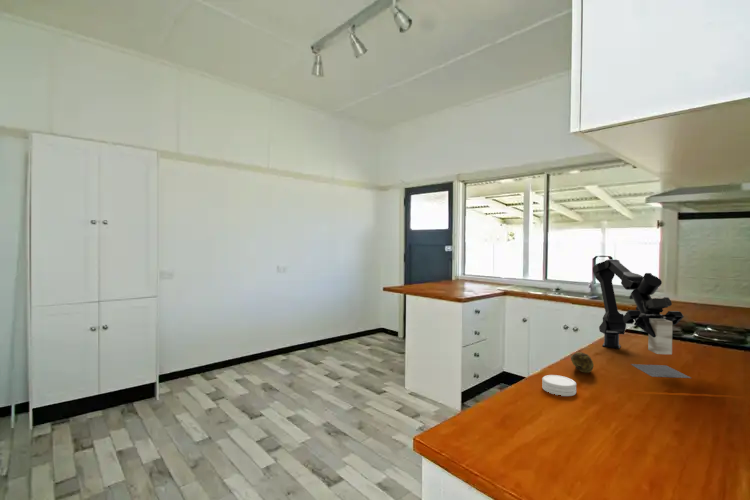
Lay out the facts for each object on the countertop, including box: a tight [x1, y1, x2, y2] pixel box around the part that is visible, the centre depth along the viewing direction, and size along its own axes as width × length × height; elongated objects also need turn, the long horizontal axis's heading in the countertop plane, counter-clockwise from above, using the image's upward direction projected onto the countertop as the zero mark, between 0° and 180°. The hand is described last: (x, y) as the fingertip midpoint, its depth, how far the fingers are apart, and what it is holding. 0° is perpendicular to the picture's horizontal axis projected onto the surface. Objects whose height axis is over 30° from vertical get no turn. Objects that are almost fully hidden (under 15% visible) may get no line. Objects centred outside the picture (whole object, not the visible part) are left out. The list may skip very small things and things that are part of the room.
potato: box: [570, 351, 594, 374], centre depth 134 cm, size 8×13×8 cm, turn 133°
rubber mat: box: [630, 363, 692, 379], centre depth 133 cm, size 13×13×1 cm
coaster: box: [541, 374, 577, 397], centre depth 118 cm, size 10×10×4 cm
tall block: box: [647, 318, 673, 355], centre depth 133 cm, size 5×5×12 cm
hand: (662, 337), depth 132 cm, fingers closed on tall block, 5 cm apart
